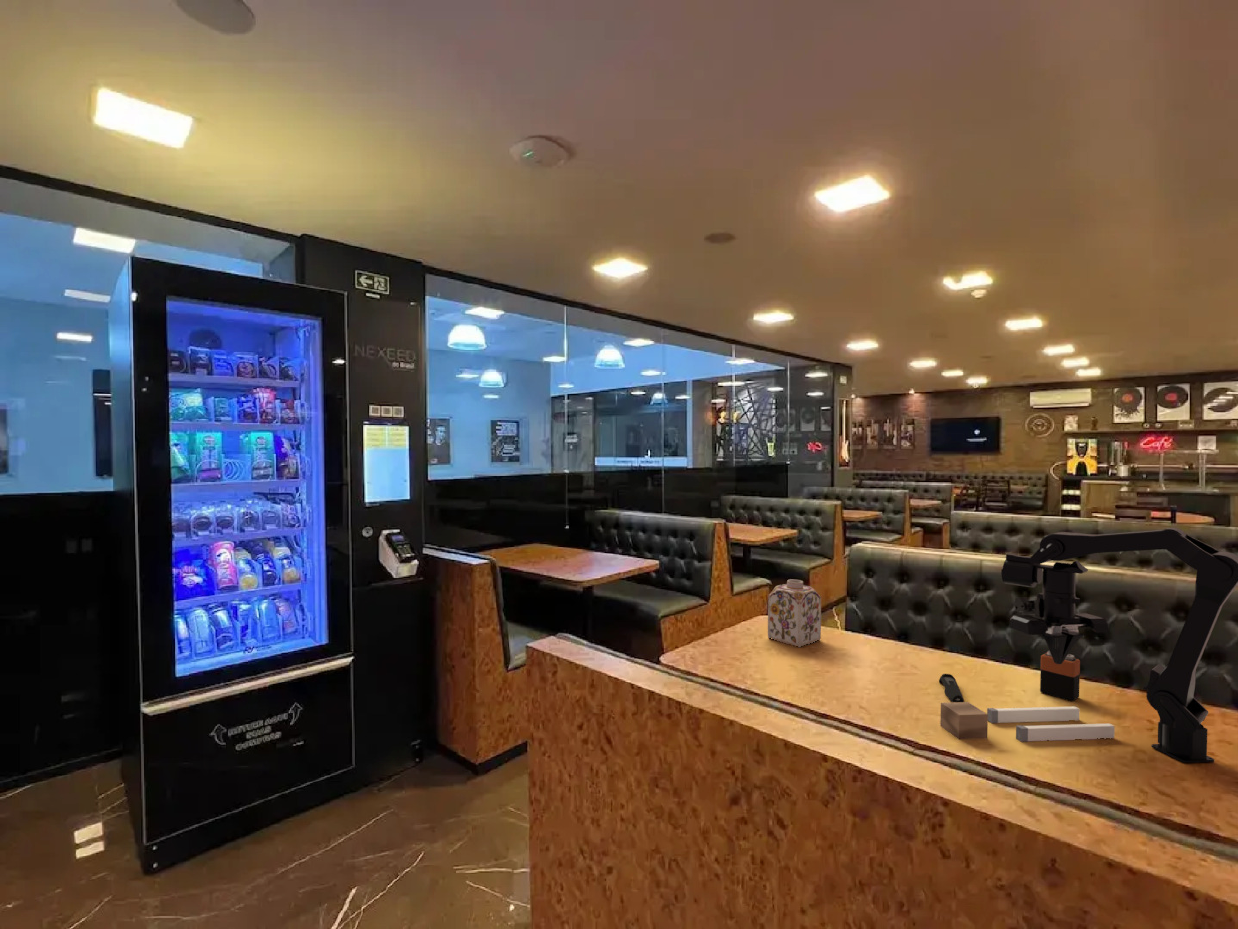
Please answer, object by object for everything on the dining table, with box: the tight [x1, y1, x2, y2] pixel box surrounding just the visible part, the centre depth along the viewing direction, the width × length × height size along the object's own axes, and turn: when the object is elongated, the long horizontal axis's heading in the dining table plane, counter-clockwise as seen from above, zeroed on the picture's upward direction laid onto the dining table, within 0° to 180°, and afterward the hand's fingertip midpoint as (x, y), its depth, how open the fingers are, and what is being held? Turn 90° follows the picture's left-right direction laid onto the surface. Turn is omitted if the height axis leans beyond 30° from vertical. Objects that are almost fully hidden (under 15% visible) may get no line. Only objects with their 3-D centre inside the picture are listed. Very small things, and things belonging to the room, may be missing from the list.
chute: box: [986, 706, 1115, 743], centre depth 127 cm, size 10×20×3 cm, turn 95°
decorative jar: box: [767, 578, 822, 648], centre depth 187 cm, size 12×12×18 cm
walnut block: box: [939, 701, 989, 740], centre depth 125 cm, size 6×6×5 cm
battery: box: [1039, 650, 1081, 702], centre depth 146 cm, size 4×7×10 cm, turn 37°
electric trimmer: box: [938, 673, 965, 703], centre depth 146 cm, size 4×16×3 cm, turn 160°
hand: (1057, 663), depth 132 cm, fingers closed
